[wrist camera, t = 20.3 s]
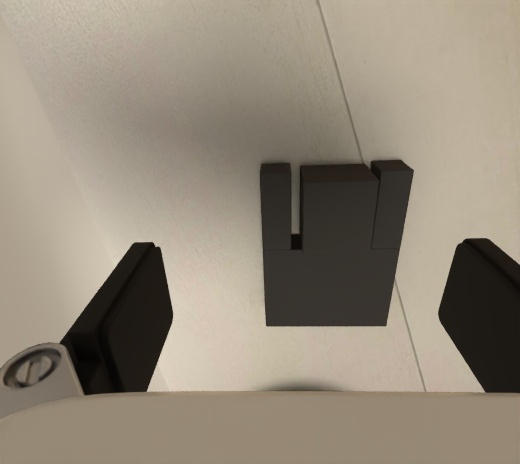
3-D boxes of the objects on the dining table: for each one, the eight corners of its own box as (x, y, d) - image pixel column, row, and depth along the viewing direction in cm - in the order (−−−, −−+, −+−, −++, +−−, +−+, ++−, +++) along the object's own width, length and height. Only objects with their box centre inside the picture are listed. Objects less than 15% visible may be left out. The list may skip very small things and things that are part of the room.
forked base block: (266, 307, 37) (266, 326, 34) (261, 163, 29) (259, 174, 27) (378, 306, 36) (386, 326, 33) (401, 160, 29) (414, 170, 26)
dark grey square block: (299, 230, 32) (302, 255, 28) (300, 165, 29) (304, 182, 25) (358, 229, 32) (370, 254, 28) (365, 163, 29) (379, 180, 25)
